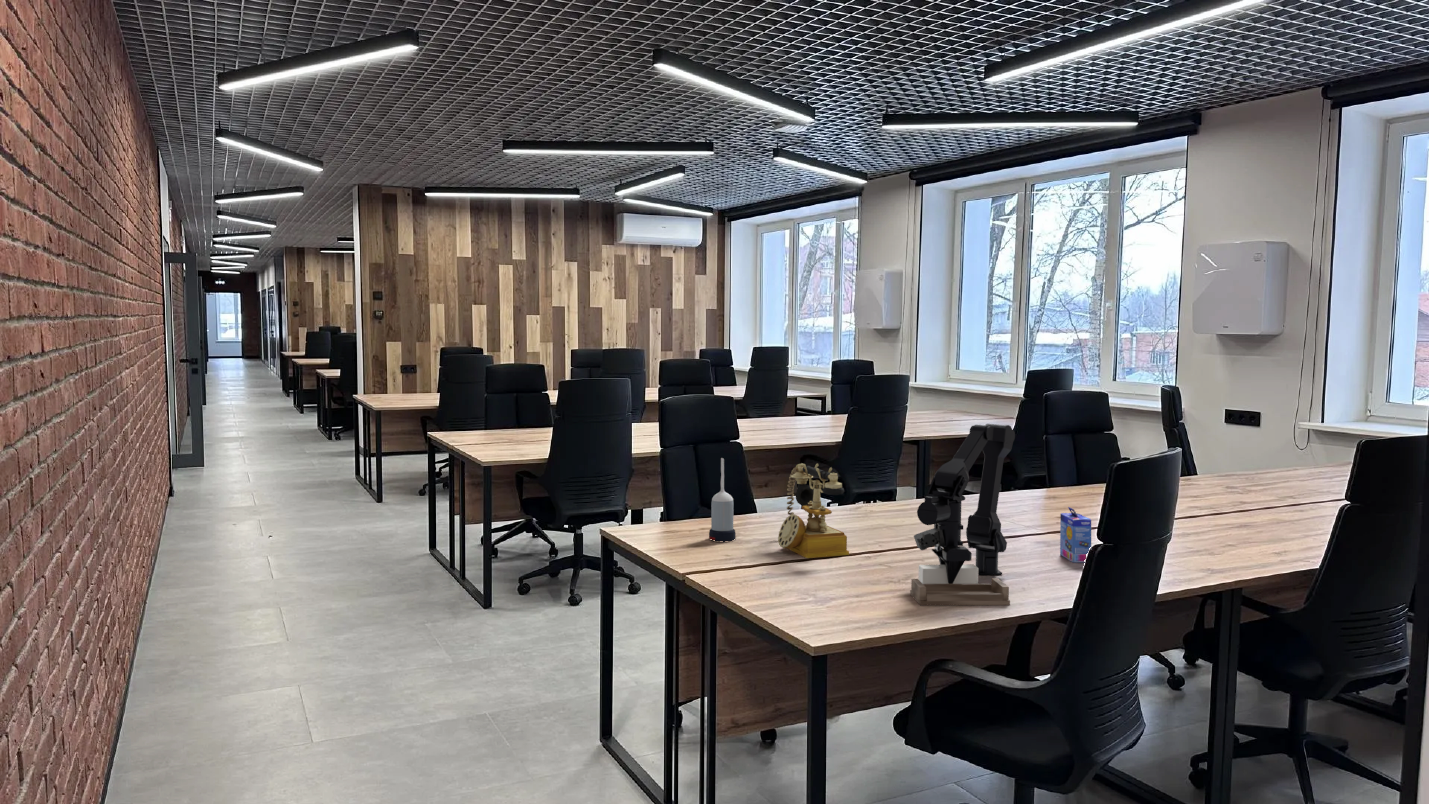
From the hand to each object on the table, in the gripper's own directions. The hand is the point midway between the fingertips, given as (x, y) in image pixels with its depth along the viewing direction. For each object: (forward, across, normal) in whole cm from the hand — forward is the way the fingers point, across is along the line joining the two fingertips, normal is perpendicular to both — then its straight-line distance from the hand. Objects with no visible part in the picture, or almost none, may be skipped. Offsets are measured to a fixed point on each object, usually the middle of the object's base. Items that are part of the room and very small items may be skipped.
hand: (948, 581), depth 243 cm
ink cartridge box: (+1, -28, +44) cm, 52 cm away
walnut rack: (+1, +13, -1) cm, 13 cm away
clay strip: (+1, 0, 0) cm, 1 cm away
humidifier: (+1, -56, -54) cm, 78 cm away
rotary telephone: (+1, -43, -31) cm, 53 cm away
